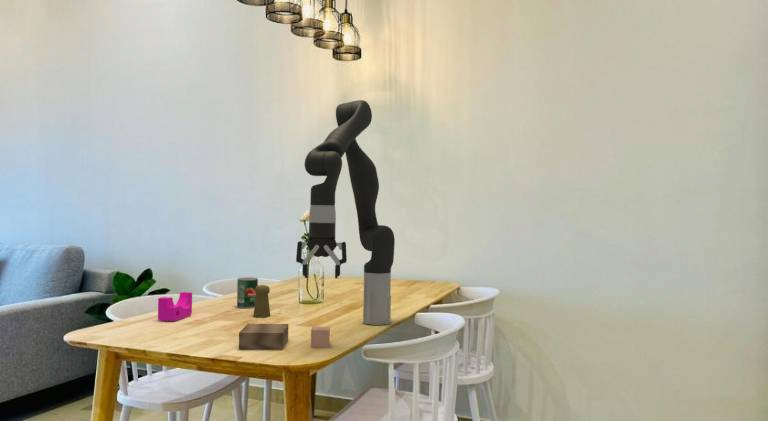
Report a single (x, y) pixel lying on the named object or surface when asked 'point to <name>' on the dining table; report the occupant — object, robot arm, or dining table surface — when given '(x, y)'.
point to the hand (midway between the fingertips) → (321, 277)
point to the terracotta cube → (320, 337)
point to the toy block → (175, 307)
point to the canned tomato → (246, 292)
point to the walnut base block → (263, 337)
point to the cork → (262, 301)
